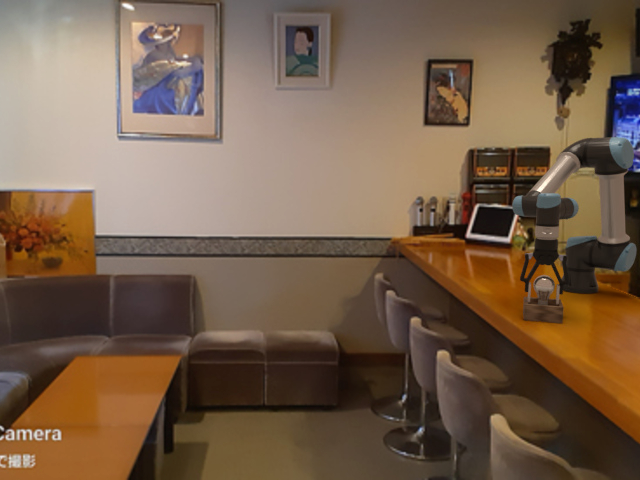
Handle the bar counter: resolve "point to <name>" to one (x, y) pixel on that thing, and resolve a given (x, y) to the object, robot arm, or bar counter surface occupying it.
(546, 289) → the light bulb
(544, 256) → the robot arm
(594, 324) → the bar counter surface
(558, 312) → the walnut box
